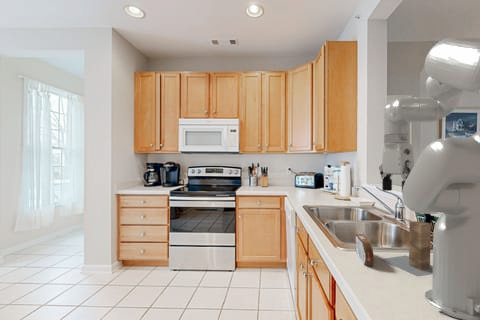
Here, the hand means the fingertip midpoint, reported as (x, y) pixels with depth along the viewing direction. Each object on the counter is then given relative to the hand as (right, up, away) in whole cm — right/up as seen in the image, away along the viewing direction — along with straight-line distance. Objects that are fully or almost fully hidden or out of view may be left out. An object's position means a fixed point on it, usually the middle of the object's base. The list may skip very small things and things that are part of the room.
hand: (396, 192), depth 92 cm
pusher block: (+5, -23, -5) cm, 24 cm away
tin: (-10, -24, +2) cm, 26 cm away
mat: (+3, -24, -3) cm, 24 cm away
